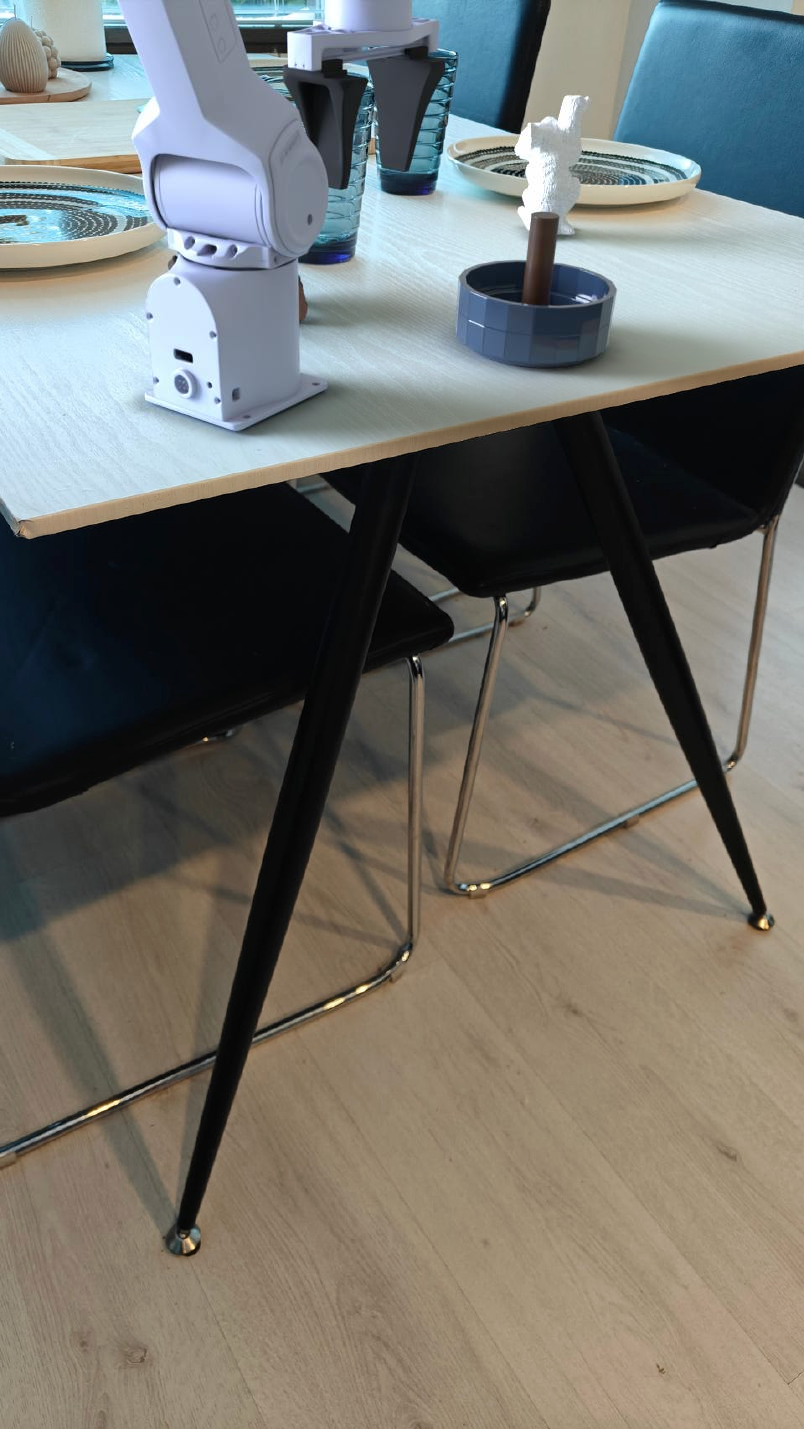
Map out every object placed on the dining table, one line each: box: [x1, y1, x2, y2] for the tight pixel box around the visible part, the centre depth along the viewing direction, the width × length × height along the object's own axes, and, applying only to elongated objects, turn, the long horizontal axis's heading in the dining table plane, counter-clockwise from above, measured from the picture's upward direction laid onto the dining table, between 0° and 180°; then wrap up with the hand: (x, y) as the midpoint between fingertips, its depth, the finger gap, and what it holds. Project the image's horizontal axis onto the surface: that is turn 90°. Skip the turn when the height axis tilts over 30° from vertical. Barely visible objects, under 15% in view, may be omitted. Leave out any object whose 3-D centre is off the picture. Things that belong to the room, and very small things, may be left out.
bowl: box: [454, 259, 618, 369], centre depth 81 cm, size 11×11×4 cm
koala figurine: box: [514, 94, 593, 236], centre depth 104 cm, size 8×7×12 cm
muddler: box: [519, 212, 559, 306], centre depth 79 cm, size 4×4×8 cm
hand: (365, 178), depth 77 cm, fingers open, 7 cm apart
